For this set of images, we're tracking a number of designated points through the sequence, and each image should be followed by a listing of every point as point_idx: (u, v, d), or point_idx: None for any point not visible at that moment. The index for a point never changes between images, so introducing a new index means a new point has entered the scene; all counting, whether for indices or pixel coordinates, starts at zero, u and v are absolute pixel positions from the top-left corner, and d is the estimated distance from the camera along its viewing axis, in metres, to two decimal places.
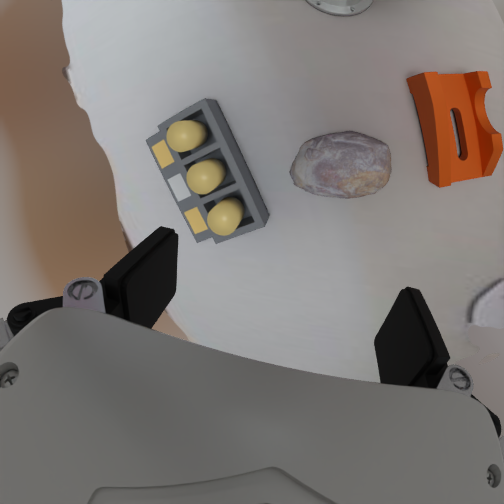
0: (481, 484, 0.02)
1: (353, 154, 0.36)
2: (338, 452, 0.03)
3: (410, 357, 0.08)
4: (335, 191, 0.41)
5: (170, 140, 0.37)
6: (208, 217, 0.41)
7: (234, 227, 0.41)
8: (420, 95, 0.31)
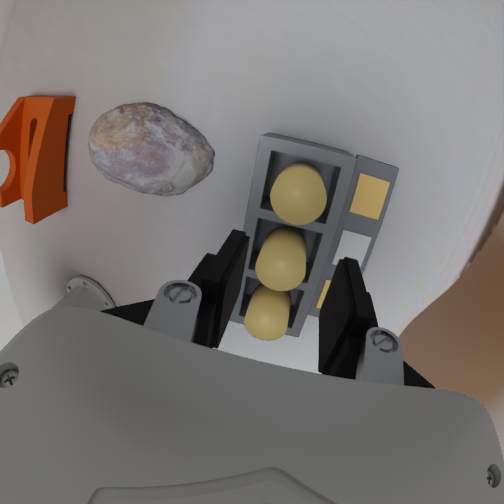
0: (481, 484, 0.02)
1: (111, 171, 0.28)
2: (338, 452, 0.03)
3: (337, 320, 0.09)
4: (155, 129, 0.27)
5: (281, 331, 0.29)
6: (314, 217, 0.23)
7: (286, 176, 0.22)
8: (50, 196, 0.34)
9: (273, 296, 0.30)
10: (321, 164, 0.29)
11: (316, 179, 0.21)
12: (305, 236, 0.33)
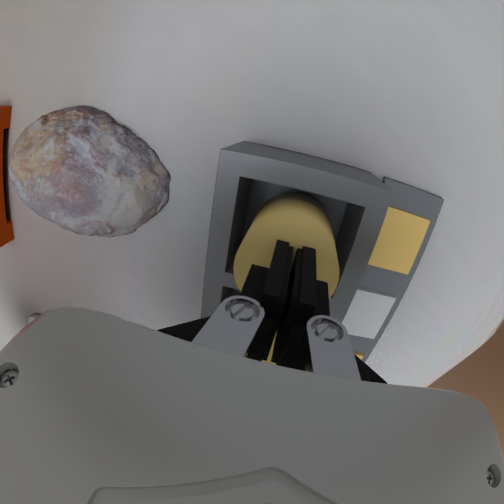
0: (481, 484, 0.02)
1: (32, 207, 0.17)
2: (338, 452, 0.03)
3: (286, 308, 0.09)
4: (81, 145, 0.17)
5: None
6: None
7: (262, 234, 0.11)
8: None
9: None
10: None
11: (321, 241, 0.11)
12: None
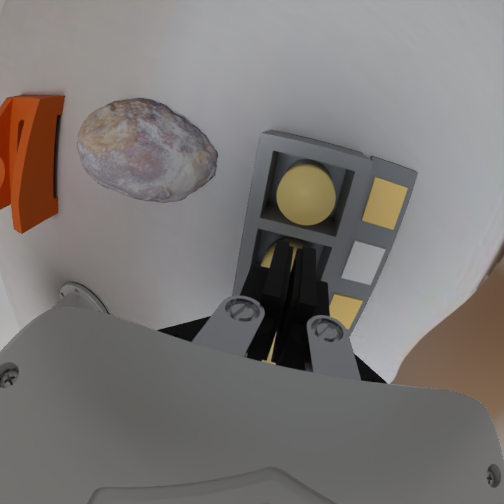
0: (481, 484, 0.02)
1: (101, 176, 0.25)
2: (338, 452, 0.03)
3: (286, 308, 0.09)
4: (150, 128, 0.24)
5: None
6: (322, 217, 0.22)
7: (293, 174, 0.21)
8: (39, 203, 0.31)
9: None
10: (331, 166, 0.25)
11: (325, 177, 0.20)
12: (311, 247, 0.29)
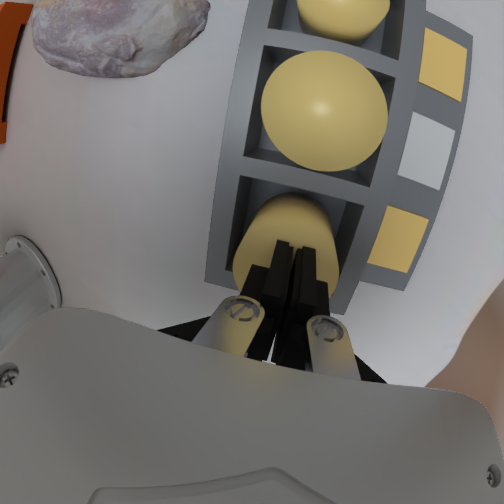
0: (481, 484, 0.02)
1: (49, 36, 0.11)
2: (338, 452, 0.03)
3: (286, 308, 0.09)
4: None
5: None
6: (375, 19, 0.08)
7: None
8: None
9: (301, 209, 0.13)
10: None
11: None
12: None
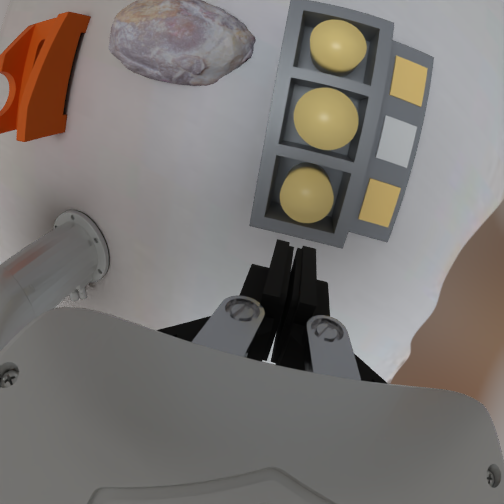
0: (481, 484, 0.02)
1: (134, 47, 0.20)
2: (338, 452, 0.03)
3: (286, 308, 0.09)
4: (192, 8, 0.19)
5: (325, 206, 0.23)
6: (357, 61, 0.17)
7: (324, 23, 0.16)
8: (48, 114, 0.26)
9: (313, 168, 0.24)
10: None
11: (354, 27, 0.16)
12: None
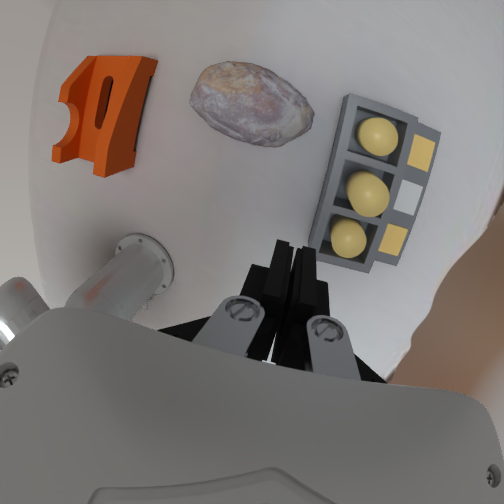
0: (481, 484, 0.02)
1: (224, 114, 0.31)
2: (338, 452, 0.03)
3: (286, 308, 0.09)
4: (270, 84, 0.30)
5: (361, 247, 0.35)
6: (390, 151, 0.28)
7: (372, 120, 0.27)
8: (123, 152, 0.37)
9: (352, 219, 0.35)
10: None
11: (391, 124, 0.27)
12: None
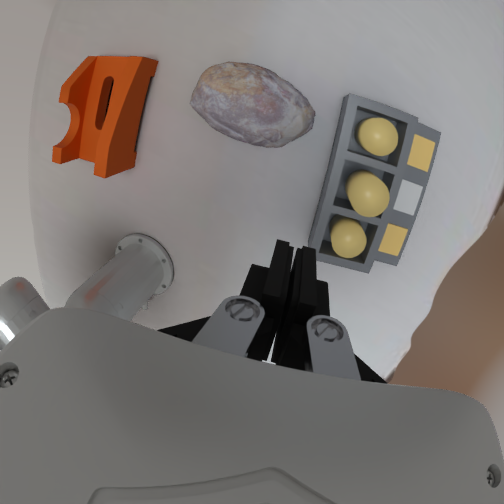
0: (481, 484, 0.02)
1: (225, 114, 0.31)
2: (338, 452, 0.03)
3: (286, 308, 0.09)
4: (271, 84, 0.30)
5: (360, 247, 0.35)
6: (390, 151, 0.28)
7: (372, 120, 0.27)
8: (123, 152, 0.37)
9: (352, 219, 0.35)
10: None
11: (391, 124, 0.27)
12: None
